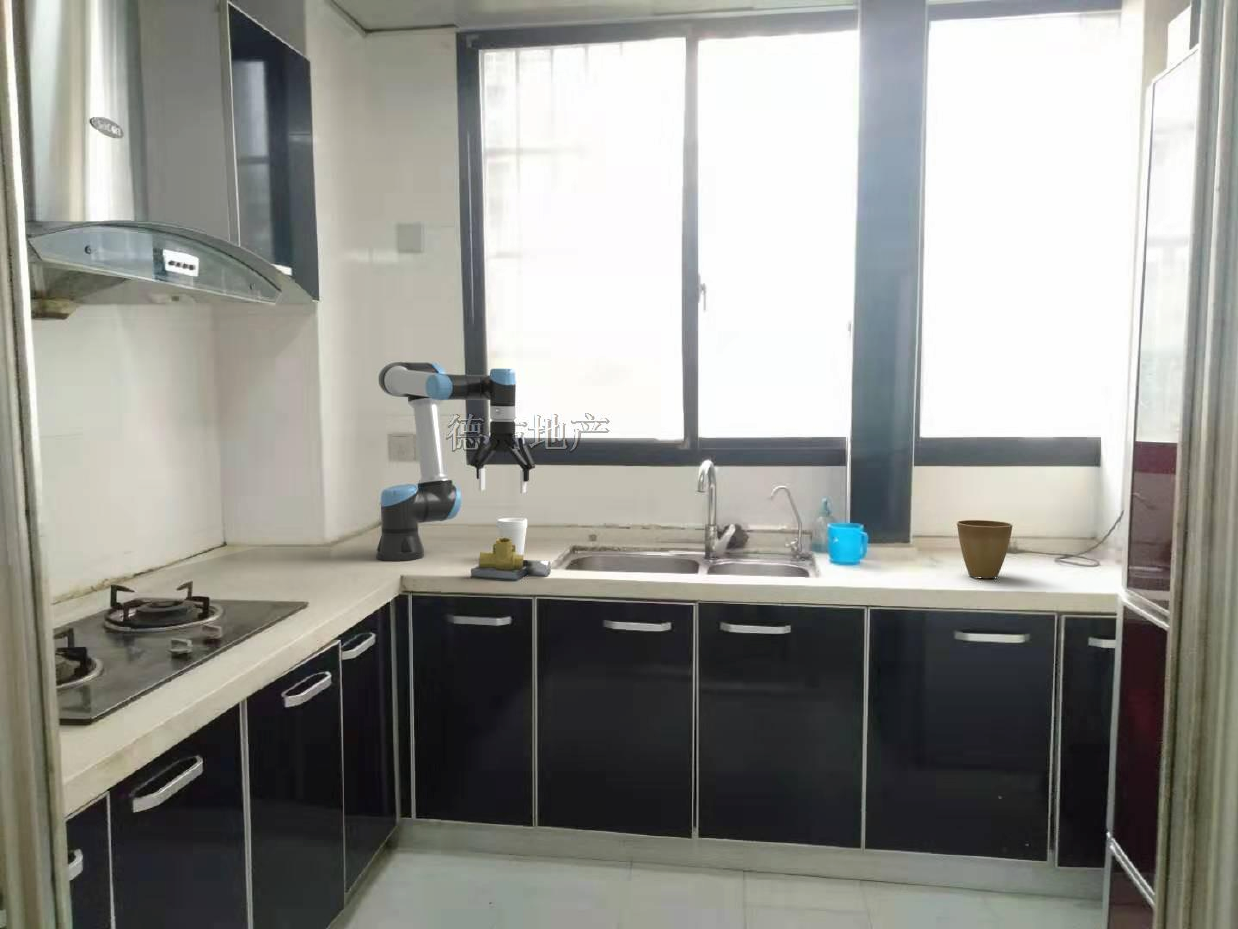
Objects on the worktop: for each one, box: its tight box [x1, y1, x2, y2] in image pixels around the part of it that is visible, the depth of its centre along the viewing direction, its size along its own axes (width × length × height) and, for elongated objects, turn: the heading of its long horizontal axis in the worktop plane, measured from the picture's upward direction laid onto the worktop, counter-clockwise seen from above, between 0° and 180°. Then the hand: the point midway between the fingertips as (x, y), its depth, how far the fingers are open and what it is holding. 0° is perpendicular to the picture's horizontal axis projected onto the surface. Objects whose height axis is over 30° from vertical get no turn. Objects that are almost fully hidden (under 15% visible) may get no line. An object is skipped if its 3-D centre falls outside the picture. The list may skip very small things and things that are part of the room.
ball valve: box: [478, 536, 524, 571], centre depth 247 cm, size 13×10×10 cm
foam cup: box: [497, 517, 528, 556], centre depth 270 cm, size 10×9×13 cm
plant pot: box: [956, 519, 1014, 578], centre depth 244 cm, size 15×15×16 cm
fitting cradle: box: [470, 559, 552, 582], centre depth 248 cm, size 21×18×4 cm
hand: (502, 491), depth 251 cm, fingers open, 13 cm apart
